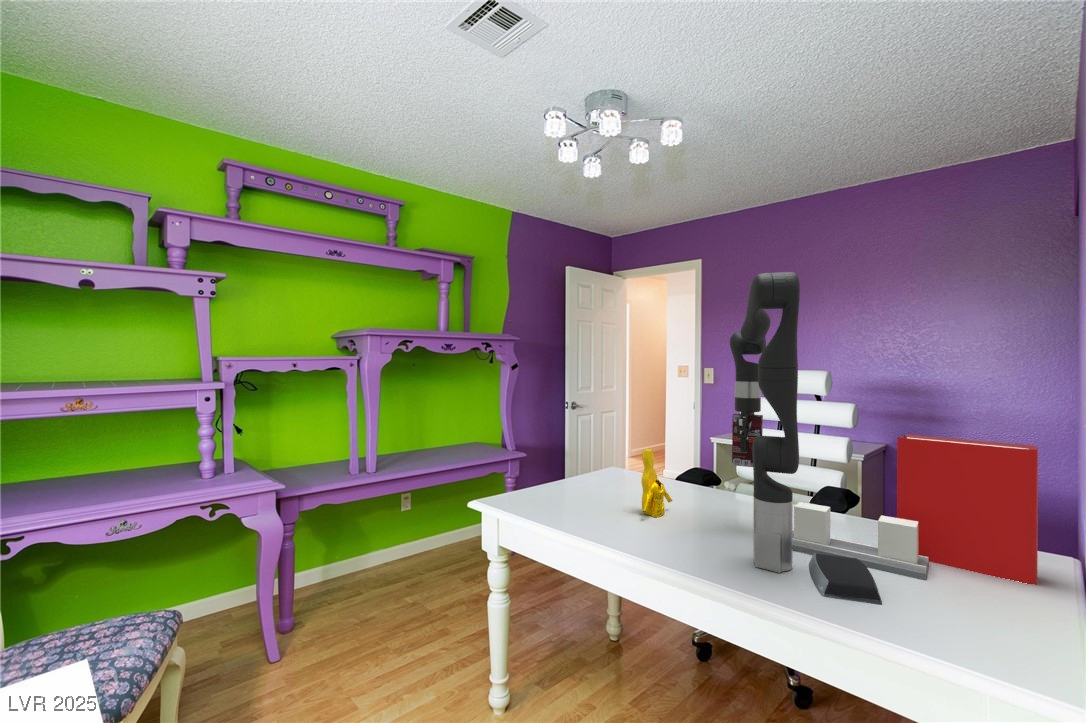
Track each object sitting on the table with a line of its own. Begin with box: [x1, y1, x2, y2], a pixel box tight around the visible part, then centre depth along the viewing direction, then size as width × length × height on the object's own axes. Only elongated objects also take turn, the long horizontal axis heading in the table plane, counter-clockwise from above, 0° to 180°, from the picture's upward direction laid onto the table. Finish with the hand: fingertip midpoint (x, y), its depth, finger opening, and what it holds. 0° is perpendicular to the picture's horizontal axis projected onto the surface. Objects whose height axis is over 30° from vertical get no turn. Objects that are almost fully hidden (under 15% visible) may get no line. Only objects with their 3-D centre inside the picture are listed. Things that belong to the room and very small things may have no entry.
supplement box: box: [731, 413, 764, 468], centre depth 157 cm, size 9×5×16 cm, turn 63°
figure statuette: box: [641, 448, 673, 518], centre depth 174 cm, size 18×8×22 cm, turn 136°
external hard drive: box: [808, 553, 883, 606], centre depth 121 cm, size 13×19×4 cm
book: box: [896, 433, 1039, 585], centre depth 131 cm, size 27×8×32 cm, turn 44°
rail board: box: [792, 501, 930, 581], centre depth 137 cm, size 12×32×12 cm, turn 50°
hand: (747, 450), depth 157 cm, fingers closed on supplement box, 5 cm apart
